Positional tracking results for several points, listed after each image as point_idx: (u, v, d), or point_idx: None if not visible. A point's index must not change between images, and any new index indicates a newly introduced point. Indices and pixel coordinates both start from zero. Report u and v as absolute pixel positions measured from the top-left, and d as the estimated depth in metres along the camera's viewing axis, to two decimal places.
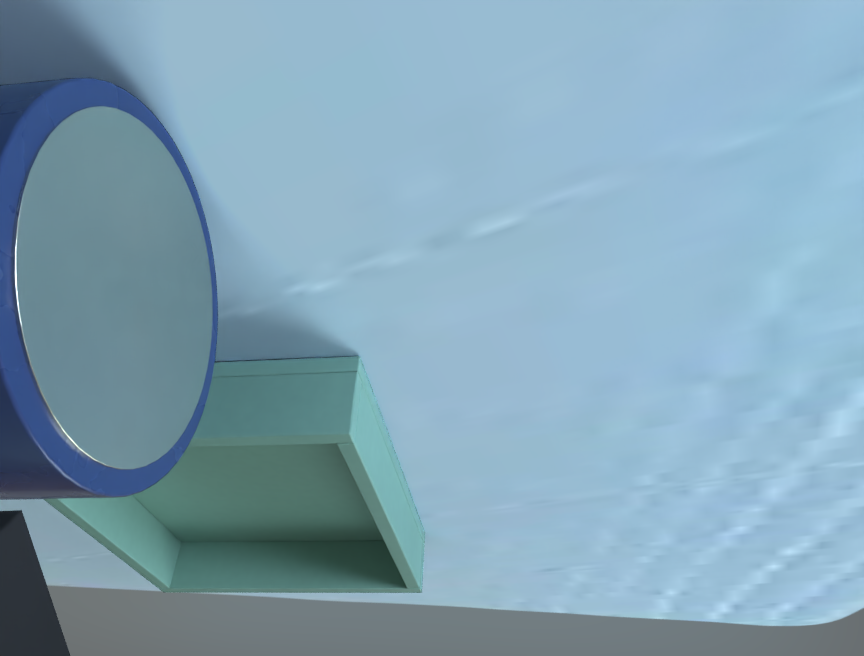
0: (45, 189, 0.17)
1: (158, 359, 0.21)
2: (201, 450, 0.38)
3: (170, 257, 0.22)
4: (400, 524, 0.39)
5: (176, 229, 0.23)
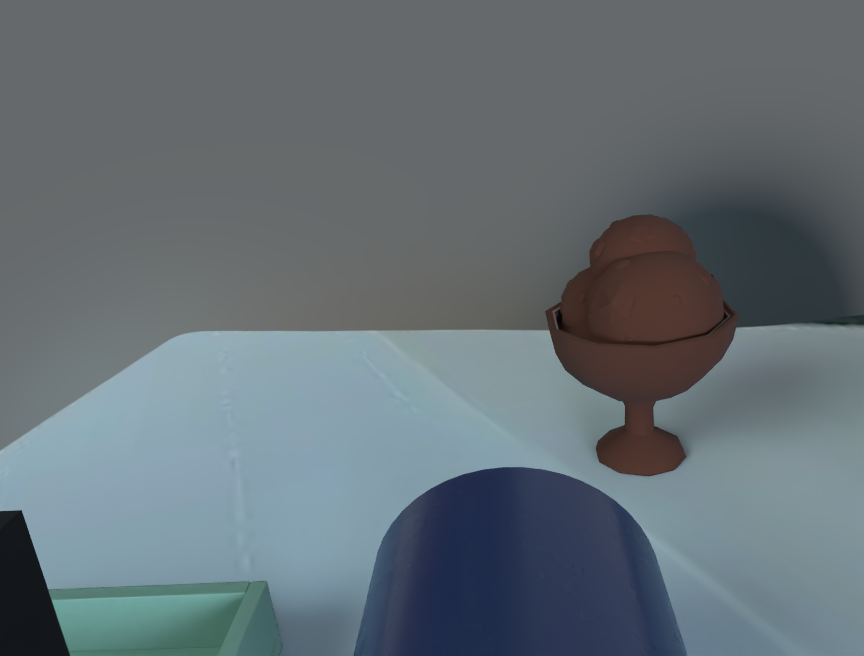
0: None
1: None
2: None
3: None
4: None
5: None
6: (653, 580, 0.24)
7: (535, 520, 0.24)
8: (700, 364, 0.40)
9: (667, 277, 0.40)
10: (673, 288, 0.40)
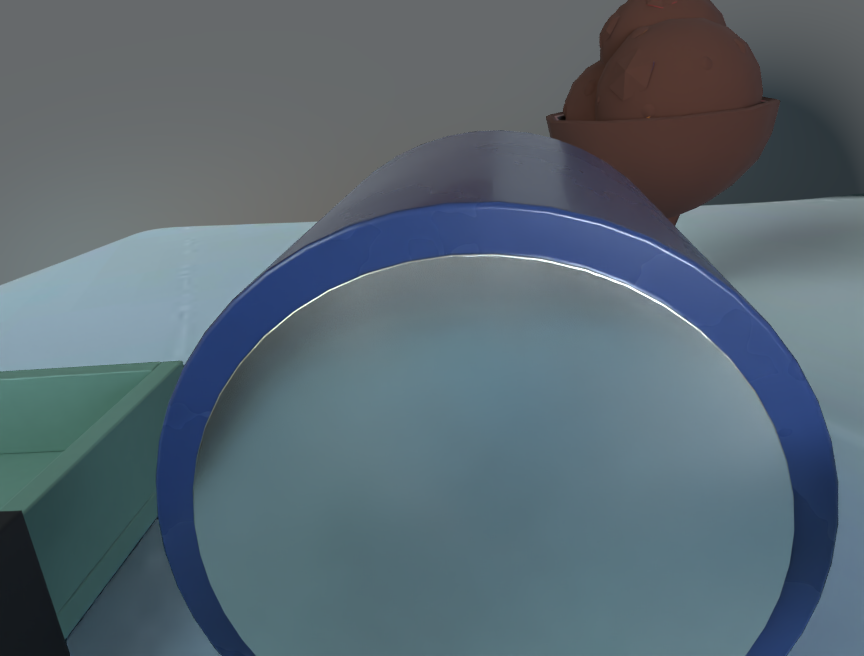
0: (754, 498, 0.11)
1: (355, 498, 0.12)
2: None
3: (438, 645, 0.13)
4: None
5: None
6: None
7: (514, 145, 0.16)
8: (734, 148, 0.33)
9: (695, 36, 0.33)
10: (702, 48, 0.32)
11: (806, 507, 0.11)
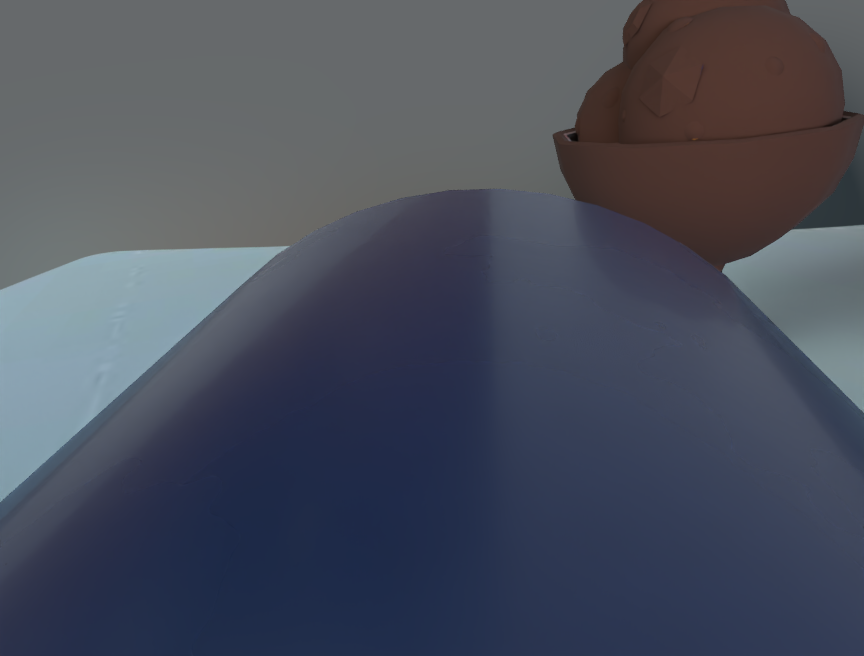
0: None
1: None
2: None
3: None
4: None
5: None
6: None
7: (527, 242, 0.08)
8: (810, 181, 0.24)
9: (759, 30, 0.24)
10: (769, 46, 0.24)
11: None
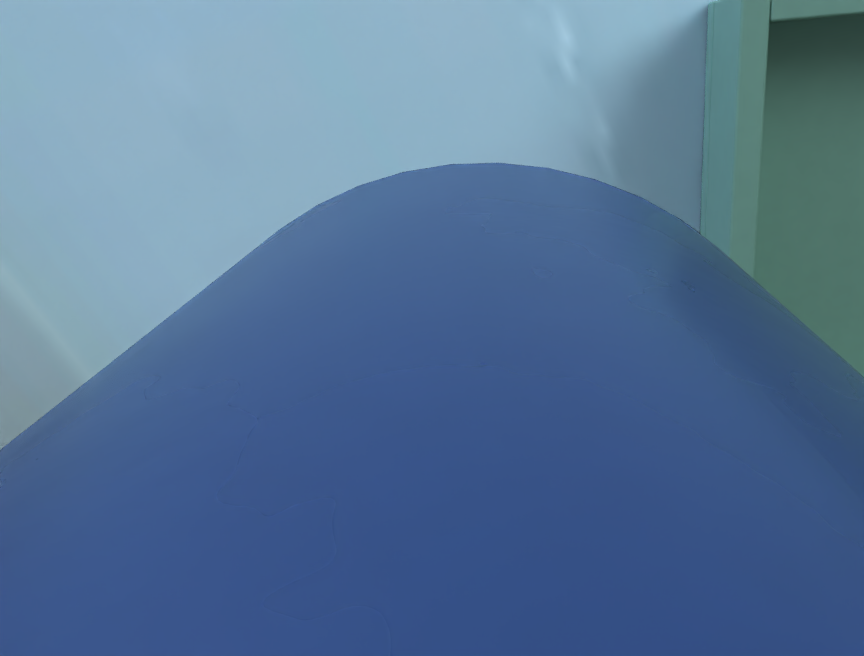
0: None
1: None
2: None
3: None
4: None
5: None
6: None
7: (525, 205, 0.08)
8: None
9: None
10: None
11: None
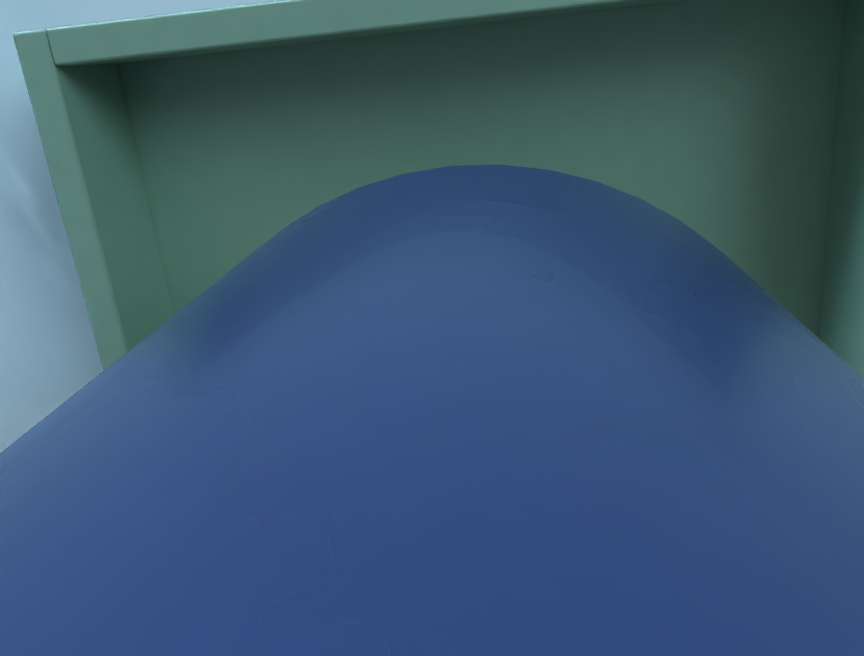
0: None
1: None
2: None
3: None
4: None
5: None
6: None
7: (526, 207, 0.08)
8: None
9: None
10: None
11: None
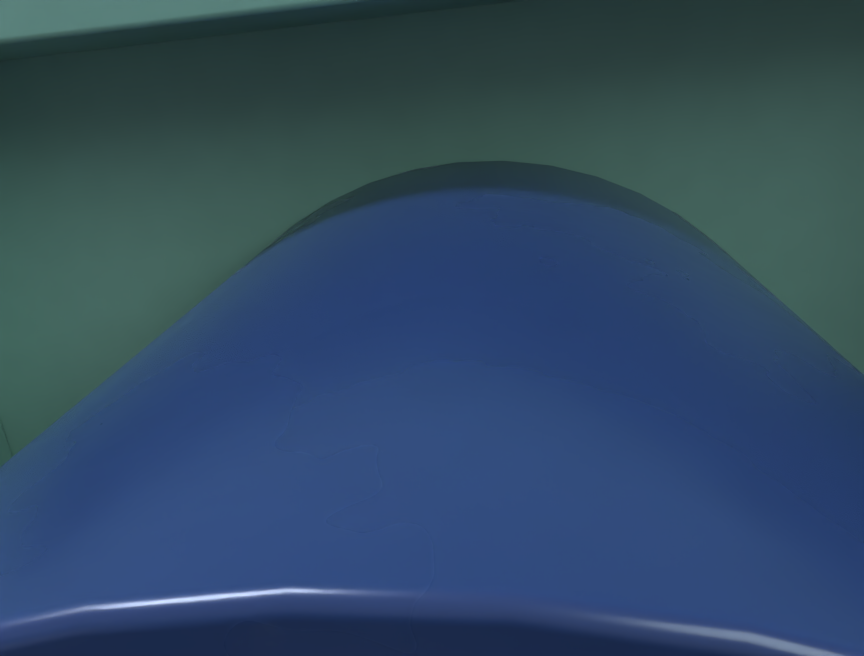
0: None
1: None
2: None
3: None
4: None
5: None
6: None
7: (531, 200, 0.09)
8: None
9: None
10: None
11: None
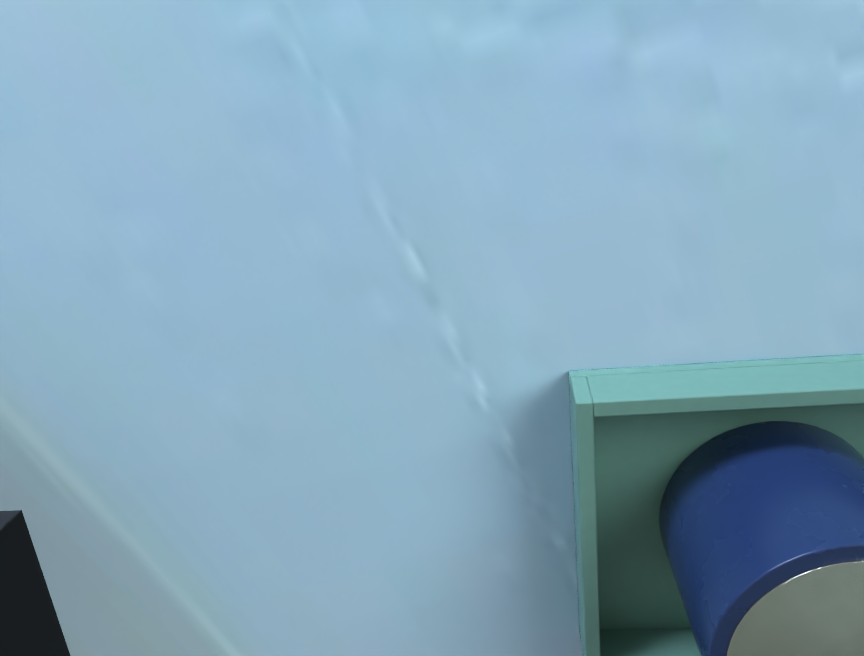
0: None
1: (801, 644, 0.29)
2: None
3: None
4: (827, 380, 0.34)
5: None
6: None
7: (818, 454, 0.34)
8: None
9: None
10: None
11: None
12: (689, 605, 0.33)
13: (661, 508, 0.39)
